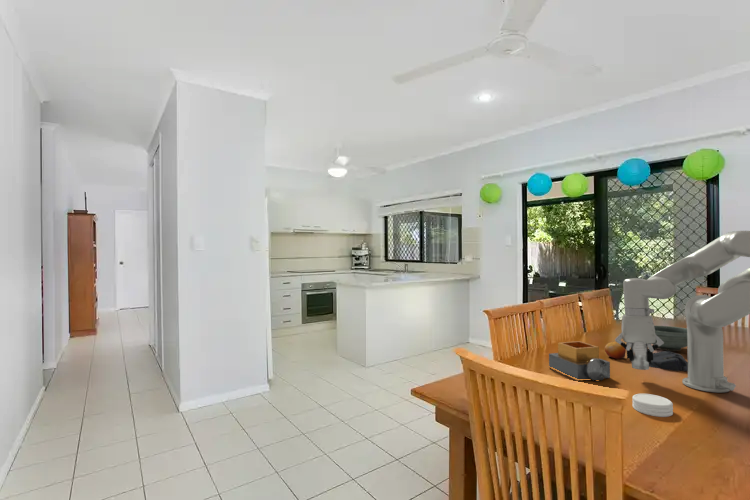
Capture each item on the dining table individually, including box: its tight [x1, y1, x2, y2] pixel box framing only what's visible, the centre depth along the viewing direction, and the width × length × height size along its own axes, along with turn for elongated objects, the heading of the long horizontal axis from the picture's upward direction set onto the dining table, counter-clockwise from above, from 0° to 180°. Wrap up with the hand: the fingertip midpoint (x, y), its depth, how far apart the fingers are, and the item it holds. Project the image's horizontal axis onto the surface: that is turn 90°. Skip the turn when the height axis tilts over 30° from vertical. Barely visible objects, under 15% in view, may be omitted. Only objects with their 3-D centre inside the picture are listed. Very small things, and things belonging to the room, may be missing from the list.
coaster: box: [631, 393, 674, 418], centre depth 116 cm, size 10×10×4 cm
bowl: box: [652, 325, 687, 352], centre depth 184 cm, size 21×21×10 cm
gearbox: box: [548, 340, 611, 381], centre depth 150 cm, size 18×14×11 cm
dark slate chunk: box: [649, 350, 688, 373], centre depth 163 cm, size 15×22×5 cm
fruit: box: [604, 341, 627, 360], centre depth 172 cm, size 8×8×8 cm
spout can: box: [630, 341, 650, 371], centre depth 143 cm, size 5×5×12 cm
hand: (640, 360), depth 143 cm, fingers closed on spout can, 5 cm apart
